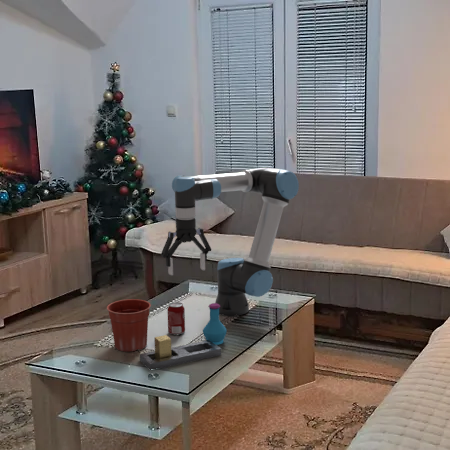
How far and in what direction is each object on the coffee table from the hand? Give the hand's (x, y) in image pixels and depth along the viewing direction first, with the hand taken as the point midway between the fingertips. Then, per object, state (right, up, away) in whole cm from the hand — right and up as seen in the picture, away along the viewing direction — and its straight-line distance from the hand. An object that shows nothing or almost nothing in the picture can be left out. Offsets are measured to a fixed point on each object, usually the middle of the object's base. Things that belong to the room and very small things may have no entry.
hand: (186, 272), depth 271 cm
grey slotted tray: (-1, -30, -14) cm, 34 cm away
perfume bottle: (+11, -27, +1) cm, 29 cm away
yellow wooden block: (-8, -31, -17) cm, 36 cm away
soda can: (-5, -25, +11) cm, 28 cm away
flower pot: (-21, -28, -2) cm, 36 cm away
